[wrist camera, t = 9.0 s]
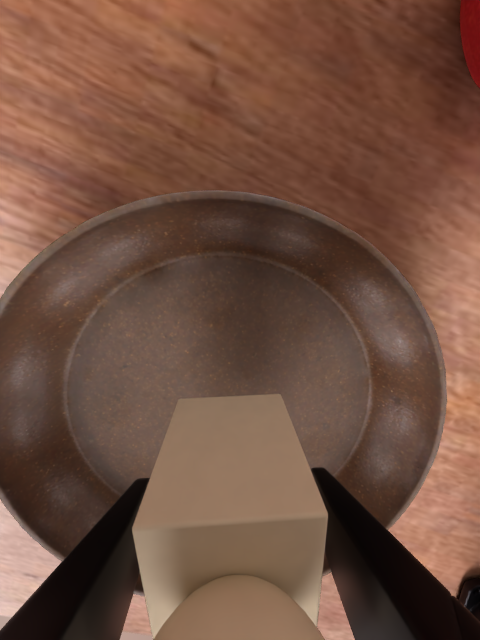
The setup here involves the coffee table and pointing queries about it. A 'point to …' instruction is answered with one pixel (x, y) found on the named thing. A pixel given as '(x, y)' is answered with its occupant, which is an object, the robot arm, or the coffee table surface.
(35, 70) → the coffee table surface
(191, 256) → the plant saucer
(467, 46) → the apple
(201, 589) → the bear
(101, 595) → the robot arm
